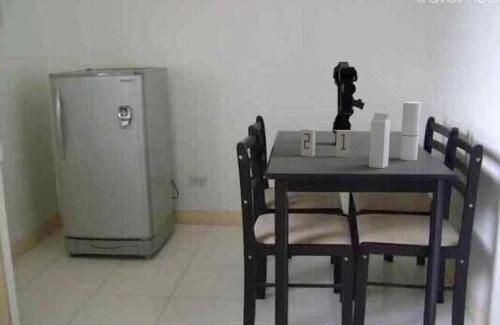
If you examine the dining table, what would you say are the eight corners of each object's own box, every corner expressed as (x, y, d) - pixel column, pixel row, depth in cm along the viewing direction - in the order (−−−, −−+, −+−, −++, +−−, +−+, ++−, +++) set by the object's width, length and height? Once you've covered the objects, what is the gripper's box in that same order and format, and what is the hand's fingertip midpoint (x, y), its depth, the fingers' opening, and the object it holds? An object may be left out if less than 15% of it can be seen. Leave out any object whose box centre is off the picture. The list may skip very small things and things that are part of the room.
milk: (374, 164, 198) (376, 112, 194) (388, 166, 195) (391, 113, 190) (368, 166, 194) (371, 113, 189) (382, 168, 190) (385, 114, 185)
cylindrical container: (417, 157, 210) (421, 101, 205) (416, 161, 204) (420, 103, 198) (401, 156, 213) (404, 101, 208) (399, 159, 207) (402, 102, 201)
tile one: (335, 155, 216) (336, 130, 214) (349, 156, 215) (350, 130, 213) (336, 157, 214) (336, 130, 211) (349, 157, 213) (350, 131, 210)
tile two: (303, 154, 220) (304, 129, 218) (314, 155, 217) (315, 130, 214) (300, 155, 218) (301, 129, 215) (312, 156, 215) (312, 130, 212)
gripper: (365, 95, 211) (364, 129, 214) (362, 92, 229) (361, 124, 232) (340, 95, 212) (339, 129, 216) (339, 92, 230) (338, 124, 234)
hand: (345, 126), depth 224 cm, fingers open, 7 cm apart
